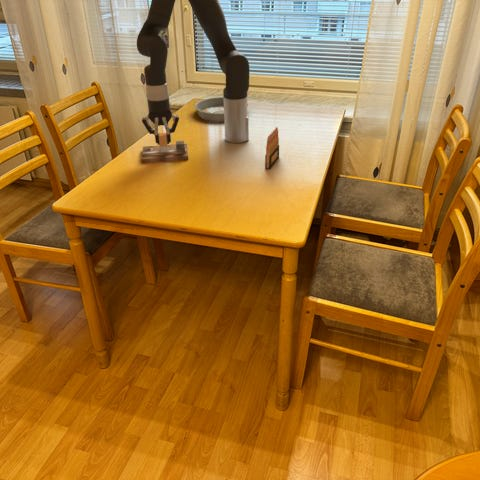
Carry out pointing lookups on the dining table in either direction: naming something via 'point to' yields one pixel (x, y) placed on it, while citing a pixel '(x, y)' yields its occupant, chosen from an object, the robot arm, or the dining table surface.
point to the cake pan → (208, 103)
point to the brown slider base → (165, 153)
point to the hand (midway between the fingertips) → (163, 143)
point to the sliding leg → (163, 142)
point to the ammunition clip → (272, 149)
